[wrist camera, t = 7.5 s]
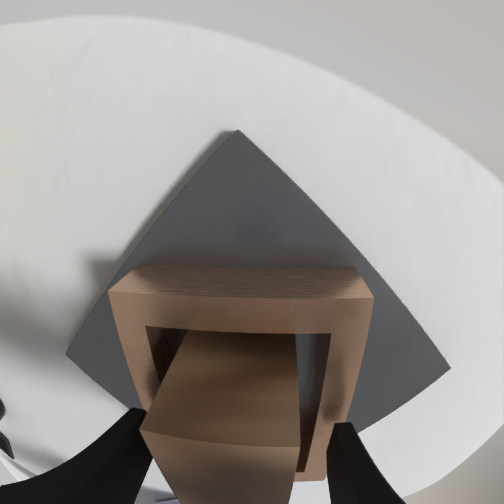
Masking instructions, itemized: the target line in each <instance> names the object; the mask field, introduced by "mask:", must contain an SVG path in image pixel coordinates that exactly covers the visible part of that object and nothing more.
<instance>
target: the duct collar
mask: <svg viewBox="0 0 504 504" xmlns="http://www.w3.org/2000/svg"><path fill="white" fill-rule="evenodd" d="M188 330H203V331H220V332H242V333H285V334H295V337H296V353H297V371H298V392H299V417H300V452H299V457H298V462H297V467H296V472H295V477H294V481H293V482H296V481H321V480H324V479H325V477H326V474H327V461H326V450H327V447H328V444H329V440H330V437H331V434H332V430H333V427H334V423H342V422H351V423H353V425H354V428H355V430H356V432H357V433H359V432H360V431H362V430H364V429H366V428H367V427H369V426H371V425H372V424H374V423H376V422H377V421H379V420H380V419H382V418H384V417H385V416H387V415H388V414H390V413H391V412H393V411H395V410H396V409H398V408H399V407H401V406H402V405H403V404H405V403H406V402H408V401H409V400H411V399H412V398H413V397H415V396H416V395H418V394H419V393H420V392H422V391H423V390H424V389H426V388H427V387H428V386H430V385H431V384H432V383H433V382H435V381H436V380H437V379H438V378H440V377H441V376H442V375H443V374H445V373H446V372H447V371H448V370H449V369H451V367H450V366H449V364H448V363H447V361H446V360H445V358H444V357H443V356H442V354H441V353H440V351H439V350H438V349H437V347H436V346H435V344H434V343H433V342H432V340H431V339H430V338H429V336H428V335H427V334H426V332H425V331H424V330H423V328H422V327H421V326H420V324H419V323H418V322H417V320H416V319H415V318H414V317H413V315H412V314H411V313H410V311H409V310H408V309H407V308H406V306H405V305H404V304H403V303H402V301H401V300H400V299H399V298H398V296H397V295H396V294H395V293H394V291H393V290H392V289H391V288H390V287H389V285H388V284H387V283H386V282H385V281H384V279H383V278H382V277H381V276H380V275H379V273H378V272H377V271H376V270H375V269H374V268H373V266H372V265H371V264H370V263H369V262H368V261H367V259H366V258H365V257H364V256H363V255H362V254H361V253H360V251H359V250H358V249H357V248H356V247H355V246H354V245H353V244H352V242H351V241H350V240H349V239H348V238H347V237H346V236H345V235H344V234H343V232H342V231H341V230H340V229H339V228H338V227H337V226H336V225H335V224H334V223H333V222H332V221H331V219H330V218H329V217H328V216H327V215H326V214H325V213H324V212H323V211H322V210H321V209H320V208H319V207H318V206H317V205H316V204H315V203H314V202H313V201H312V200H311V199H310V197H309V196H308V195H307V194H306V193H305V192H304V191H303V190H302V189H301V188H300V187H299V186H298V185H297V184H296V183H295V182H294V181H293V180H292V179H291V178H290V177H289V176H288V175H287V174H286V173H285V172H284V171H282V170H281V169H280V168H279V167H278V166H277V165H276V164H275V163H274V162H273V161H272V160H271V159H270V158H269V157H268V156H267V155H266V154H265V153H264V152H263V151H262V150H260V149H259V148H258V147H257V146H256V145H255V144H254V143H253V142H252V141H251V140H250V139H249V138H247V137H246V136H245V135H244V134H243V133H242V132H241V131H240V130H237V131H236V132H235V133H234V134H233V135H232V136H231V137H230V138H229V139H228V140H227V141H226V142H225V143H224V144H223V145H222V146H221V147H220V149H219V150H218V151H217V152H216V153H215V154H214V155H213V156H212V157H211V158H210V159H209V161H208V162H207V163H206V164H205V165H204V166H203V167H202V168H201V169H200V171H199V172H198V173H197V174H196V175H195V176H194V177H193V179H192V180H191V181H190V182H189V183H188V184H187V185H186V187H185V188H184V189H183V190H182V191H181V193H180V194H179V195H178V196H177V197H176V198H175V200H174V201H173V202H172V203H171V204H170V206H169V207H168V208H167V209H166V211H165V212H164V213H163V214H162V216H161V217H160V218H159V219H158V220H157V222H156V223H155V224H154V226H153V227H152V228H151V229H150V231H149V232H148V233H147V234H146V236H145V237H144V238H143V240H142V241H141V242H140V244H139V245H138V246H137V248H136V249H135V250H134V252H133V253H132V254H131V256H130V257H129V258H128V260H127V261H126V262H125V264H124V265H123V267H122V268H121V269H120V271H119V272H118V273H117V275H116V276H115V278H114V279H113V281H112V282H111V283H110V285H109V286H108V288H107V289H106V291H105V292H104V294H103V295H102V296H101V298H100V299H99V301H98V302H97V304H96V305H95V307H94V308H93V310H92V312H91V313H90V315H89V316H88V318H87V319H86V321H85V322H84V324H83V326H82V327H81V329H80V330H79V332H78V333H77V335H76V337H75V338H74V340H73V342H72V343H71V345H70V347H69V348H68V350H67V352H66V353H65V354H66V355H67V356H68V357H69V358H70V359H71V360H72V361H73V362H74V363H75V364H76V365H77V366H79V367H80V368H81V369H82V370H83V371H84V372H85V373H86V374H87V375H88V376H90V377H91V378H92V379H93V380H94V381H95V382H97V383H98V384H99V385H100V386H101V387H103V388H104V389H105V390H106V391H107V392H109V393H110V394H111V395H112V396H114V397H115V398H116V399H117V400H119V401H120V402H121V403H123V404H124V405H125V406H127V407H128V408H129V409H131V408H132V407H135V408H139V409H144V410H146V411H147V412H148V410H149V408H150V406H151V404H152V402H153V400H154V398H155V396H156V394H157V392H158V390H159V387H160V385H161V383H162V381H163V379H164V377H165V375H166V373H167V371H168V369H169V367H170V365H171V363H172V361H173V359H174V357H175V355H176V353H177V351H178V349H179V347H180V345H181V343H182V341H183V339H184V337H185V335H186V334H187V332H188Z"/></svg>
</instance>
